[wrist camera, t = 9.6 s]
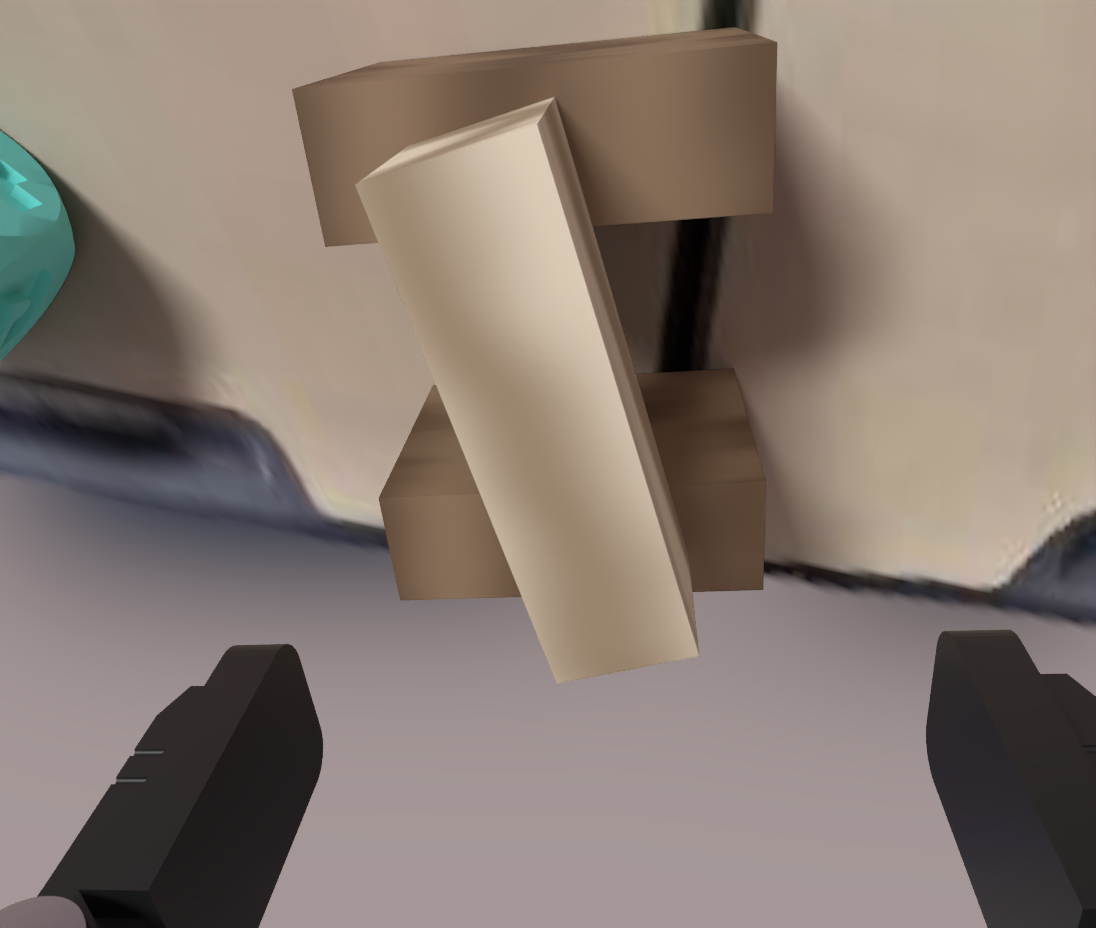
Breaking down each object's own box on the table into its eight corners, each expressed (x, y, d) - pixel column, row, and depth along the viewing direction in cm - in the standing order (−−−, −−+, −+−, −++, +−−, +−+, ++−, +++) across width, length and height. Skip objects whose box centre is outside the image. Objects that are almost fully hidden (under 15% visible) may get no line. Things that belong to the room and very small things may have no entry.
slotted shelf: (735, 26, 29) (777, 42, 21) (733, 458, 36) (763, 590, 28) (379, 62, 30) (291, 89, 22) (447, 471, 38) (400, 600, 30)
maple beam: (554, 96, 22) (536, 124, 18) (687, 551, 28) (699, 656, 24) (407, 146, 23) (355, 184, 18) (567, 577, 29) (556, 683, 24)
